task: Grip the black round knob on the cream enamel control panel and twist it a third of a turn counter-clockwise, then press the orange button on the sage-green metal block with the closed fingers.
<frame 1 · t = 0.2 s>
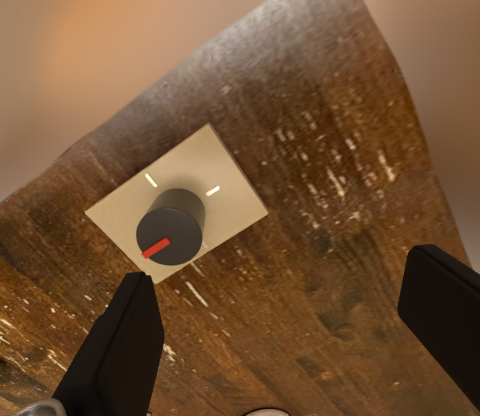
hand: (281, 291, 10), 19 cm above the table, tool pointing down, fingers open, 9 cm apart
panel: (183, 202, 28), on the table
knob: (174, 225, 22), point 6 cm above the table, hinge at 0.0°
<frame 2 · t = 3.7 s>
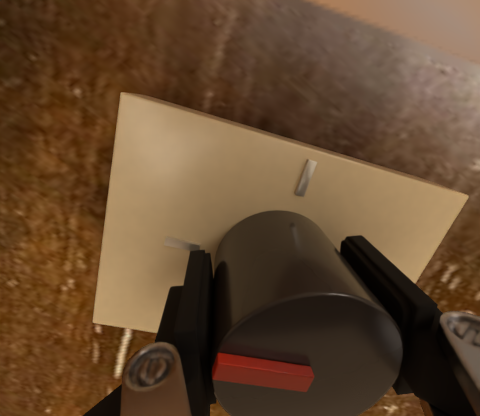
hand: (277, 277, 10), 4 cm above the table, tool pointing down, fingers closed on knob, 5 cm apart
panel: (262, 231, 14), on the table
knob: (287, 307, 9), point 6 cm above the table, hinge at 0.0°, touching gripper
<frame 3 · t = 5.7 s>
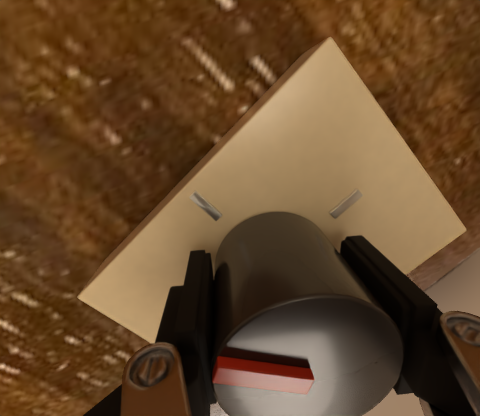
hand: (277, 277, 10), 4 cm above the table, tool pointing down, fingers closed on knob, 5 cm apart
panel: (262, 232, 14), on the table
knob: (287, 309, 9), point 6 cm above the table, hinge at 120.2°, touching gripper
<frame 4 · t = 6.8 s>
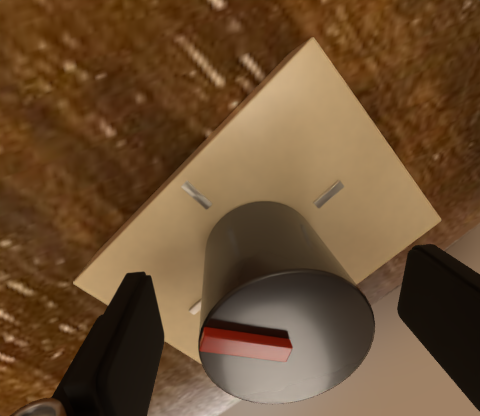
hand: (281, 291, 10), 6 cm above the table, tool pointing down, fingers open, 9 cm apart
panel: (252, 223, 15), on the table
knob: (272, 290, 9), point 6 cm above the table, hinge at 120.6°
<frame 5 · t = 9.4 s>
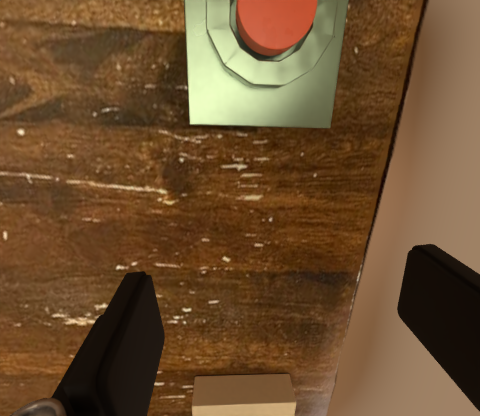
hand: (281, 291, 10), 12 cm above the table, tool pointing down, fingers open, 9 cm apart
button block: (261, 33, 17), on the table
button: (274, 9, 12), point 4 cm above the table, slide at 0.1 cm
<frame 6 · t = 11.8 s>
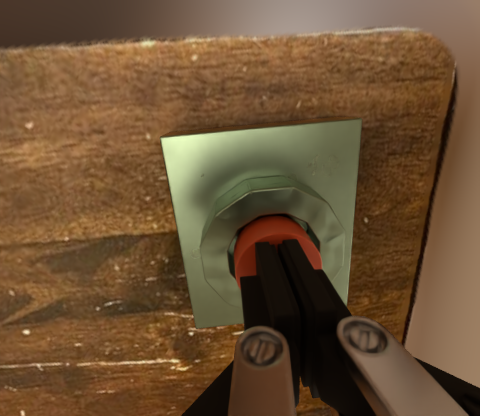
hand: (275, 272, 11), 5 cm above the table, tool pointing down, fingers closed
button block: (261, 220, 16), on the table
button: (275, 260, 12), point 4 cm above the table, slide at -0.1 cm, touching gripper
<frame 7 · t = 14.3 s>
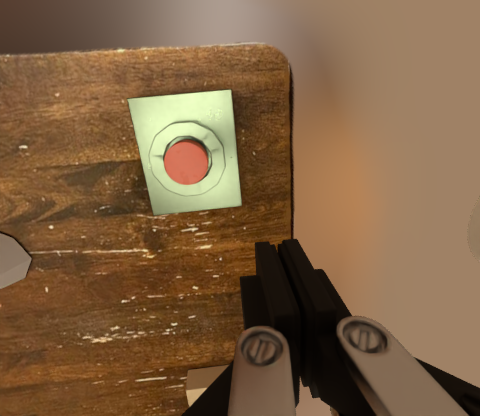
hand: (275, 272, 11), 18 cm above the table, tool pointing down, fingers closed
panel: (226, 397, 41), on the table
button block: (191, 153, 27), on the table
button: (187, 162, 23), point 4 cm above the table, slide at 0.1 cm
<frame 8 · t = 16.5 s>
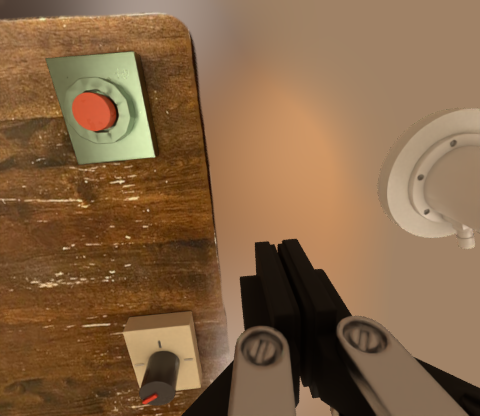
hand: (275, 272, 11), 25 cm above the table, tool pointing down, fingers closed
panel: (167, 345, 45), on the table
button block: (111, 111, 31), on the table
knob: (160, 378, 40), point 6 cm above the table, hinge at 120.6°
button: (95, 112, 27), point 4 cm above the table, slide at 0.1 cm
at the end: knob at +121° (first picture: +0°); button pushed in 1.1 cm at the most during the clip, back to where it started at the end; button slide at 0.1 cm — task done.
